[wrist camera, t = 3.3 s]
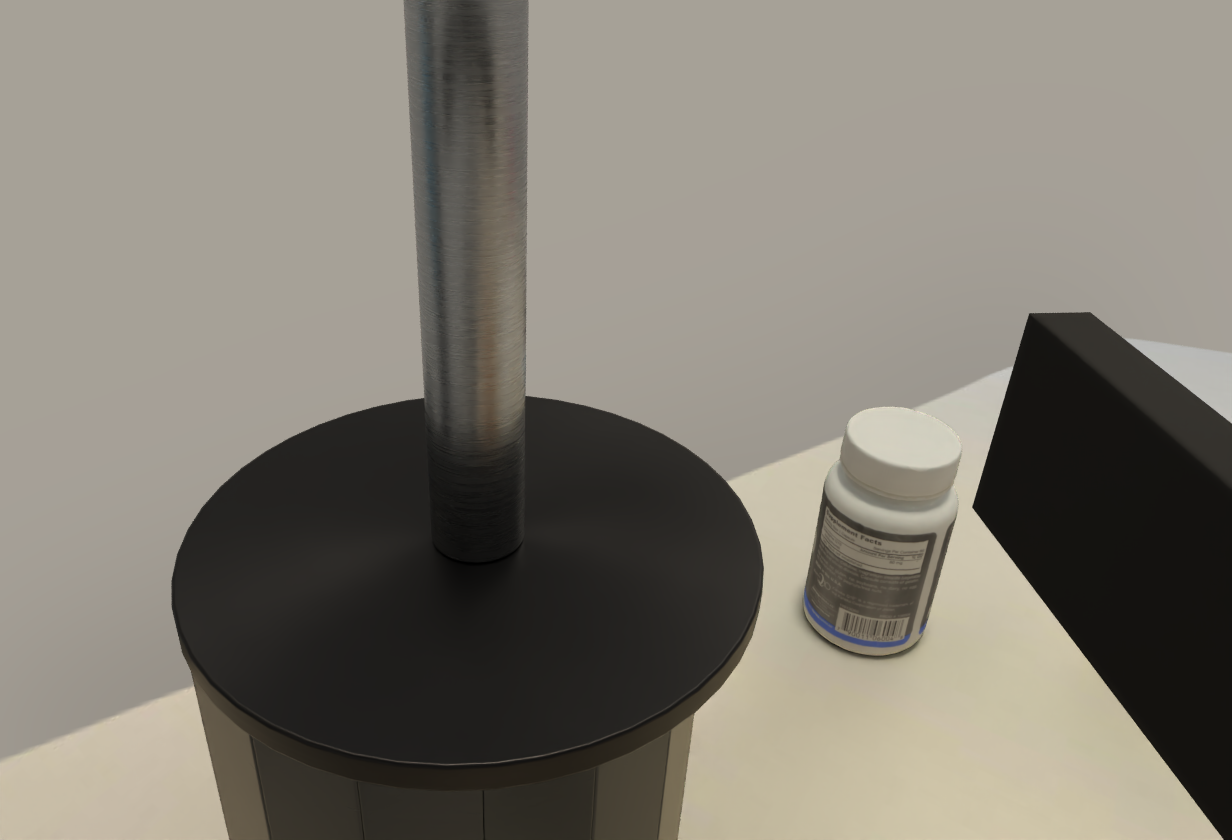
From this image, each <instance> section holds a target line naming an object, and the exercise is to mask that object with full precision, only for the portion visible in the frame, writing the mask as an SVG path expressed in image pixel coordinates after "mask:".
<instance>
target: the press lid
mask: <svg viewBox="0 0 1232 840" xmlns="http://www.w3.org/2000/svg"><path fill="white" fill-rule="evenodd" d="M404 17H405V34H406V35H405V36H406V55H407V73H408V93H409V113H410V131H411V151H412V170H413V190H414V208H415V227H416V247H417V265H418V285H419V305H420V323H421V343H422V362H423V380H424V398H421V399H415V400H406V401H401V402H396V403H392V404H387V405H381V406H377V407H373V408H369V409H366V410H362V411H358V412H355V413H351V414H347V415H345V416H342V417H339V418H337V419H334V420H331V421H328V422H325V423H322V424H319V425H317V426H315V427H313V428H310V429H308V430H306V431H304V432H301V433H299V434H297V435H295V436H293V437H291V438H289V439H287V440H285V441H283V442H282V443H280V444H278V445H277V446H275V447H273V448H271V449H269V450H267V451H266V452H264V453H263V454H261V455H260V456H258V457H257V458H255V459H254V460H253V461H251V462H250V463H248V464H247V465H245V466H244V467H243V468H241V469H240V470H239V471H238V472H237V473H235V474H234V475H233V476H232V477H231V478H230V479H229V480H228V481H226V482H225V483H224V484H223V485H222V486H221V487H220V488H219V489H218V490H217V491H216V492H215V493H214V495H213V496H212V497H211V498H210V499H209V500H208V502H206V504H205V505H204V506H203V507H202V508H201V510H200V512H199V513H198V515H197V516H196V518H195V519H194V521H193V522H192V524H191V526H190V527H189V529H188V530H187V533H186V535H185V537H184V540H183V542H182V545H181V547H180V549H179V551H178V554H177V558H176V562H175V567H174V572H173V577H172V610H173V615H174V619H175V623H176V628H177V632H178V636H179V640H180V645H181V649H182V653H183V655H184V657H185V659H186V661H187V664H188V666H189V668H190V670H191V672H192V674H193V676H194V678H195V680H196V681H197V683H198V684H199V685H200V687H201V688H202V689H203V690H204V692H205V693H206V694H207V696H208V697H209V698H210V700H211V701H212V702H213V704H214V705H215V706H216V707H217V708H218V709H220V710H221V711H222V712H223V713H224V714H225V715H226V716H227V717H228V718H230V719H231V720H232V721H233V722H234V723H235V724H236V725H237V726H238V727H239V728H241V729H242V730H243V731H245V732H246V733H248V734H249V735H251V736H252V737H254V738H256V739H257V740H259V741H260V742H262V743H263V744H265V745H266V746H268V747H270V748H271V749H273V750H274V751H276V752H279V753H281V754H283V755H285V756H287V757H290V758H292V759H294V760H296V761H298V762H301V763H303V764H305V765H307V766H309V767H312V768H315V769H318V770H321V771H325V772H328V773H331V774H335V775H338V776H341V777H344V778H348V779H351V780H354V781H360V782H366V783H371V784H377V785H383V786H388V787H394V788H399V789H414V790H430V791H446V792H451V791H473V790H494V789H502V788H509V787H515V786H522V785H528V784H535V783H541V782H546V781H550V780H553V779H557V778H561V777H564V776H568V775H572V774H576V773H579V772H583V771H587V770H590V769H592V768H595V767H597V766H600V765H602V764H605V763H608V762H610V761H613V760H615V759H618V758H620V757H623V756H625V755H628V754H630V753H632V752H634V751H635V750H637V749H639V748H641V747H643V746H645V745H646V744H648V743H650V742H652V741H654V740H656V739H658V738H659V737H661V736H663V735H665V734H666V733H668V732H669V731H670V730H672V729H673V728H675V727H676V726H677V725H679V724H680V723H681V722H683V721H684V720H685V719H687V718H688V717H690V716H691V715H692V714H694V713H695V712H696V711H697V710H698V709H699V708H700V707H701V706H702V705H703V704H704V703H705V702H706V701H707V700H708V699H709V698H710V697H711V696H712V695H713V694H715V693H716V692H717V691H718V690H719V689H720V688H721V686H722V685H723V684H724V682H725V681H726V680H727V678H728V677H729V675H730V674H731V673H732V671H733V670H734V669H735V667H736V666H737V665H738V663H739V662H740V660H741V658H742V656H743V654H744V652H745V650H746V648H747V646H748V644H749V642H750V640H751V638H752V635H753V631H754V628H755V624H756V620H757V617H758V613H759V609H760V603H761V597H762V588H763V571H764V566H763V559H762V552H761V545H760V542H759V539H758V536H757V533H756V530H755V527H754V525H753V522H752V519H751V518H750V516H749V514H748V512H747V510H746V509H745V507H744V505H743V503H742V502H741V500H740V498H739V497H738V496H737V495H736V493H735V492H734V491H733V490H732V488H731V487H730V486H729V485H728V483H727V482H726V481H725V480H724V479H723V478H722V477H721V476H720V475H719V474H718V473H716V471H715V470H714V469H713V468H711V466H709V465H708V464H707V463H706V462H705V461H703V460H702V459H701V458H699V457H698V456H697V455H695V454H694V453H693V452H691V451H690V450H689V449H687V448H686V447H684V446H682V445H681V444H679V443H677V442H676V441H674V440H672V439H670V438H669V437H667V436H665V435H664V434H662V433H659V432H657V431H655V430H653V429H651V428H648V427H647V426H644V425H642V424H640V423H638V422H635V421H632V420H629V419H627V418H624V417H621V416H618V415H616V414H613V413H610V412H606V411H602V410H599V409H595V408H591V407H588V406H584V405H579V404H574V403H569V402H564V401H559V400H553V399H546V398H537V397H530V396H525V376H526V372H525V370H526V248H527V247H526V245H527V240H526V239H527V238H526V237H527V120H528V119H527V117H528V115H527V111H528V0H404Z"/></svg>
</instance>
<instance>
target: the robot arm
mask: <svg viewBox="0 0 1232 840" xmlns="http://www.w3.org/2000/svg"><path fill="white" fill-rule="evenodd" d="M972 508H973V509H974V510H975V512H976V513H977V514H978V516H979V517H980V518H981V520H982V521H983V522H984V524H985V525H986V526H987V528H988V529H989V530H990V531H991V533H992V534H993V535H994V537H995V538H996V539H997V541H998V542H999V543H1000V545H1001V546H1002V547H1003V549H1004V550H1005V551H1006V553H1007V554H1008V555H1009V557H1010V558H1011V559H1012V561H1013V562H1014V563H1015V564H1016V566H1017V567H1018V568H1019V570H1020V571H1021V572H1022V574H1023V575H1024V576H1025V578H1026V579H1027V580H1028V582H1029V583H1030V584H1031V586H1032V587H1033V588H1034V590H1035V591H1036V592H1037V594H1038V595H1039V596H1040V598H1041V599H1042V600H1043V601H1044V603H1045V604H1046V605H1047V607H1048V608H1049V609H1050V611H1051V612H1052V613H1053V615H1054V616H1055V617H1056V619H1057V620H1058V621H1059V623H1060V624H1061V625H1062V627H1063V628H1064V629H1065V631H1066V632H1067V633H1068V634H1069V636H1070V637H1071V638H1072V640H1073V641H1074V642H1075V644H1076V645H1077V646H1078V648H1079V649H1080V650H1081V652H1082V653H1083V654H1084V656H1085V657H1086V658H1087V660H1088V661H1089V662H1090V664H1091V665H1092V666H1093V668H1094V669H1095V670H1096V671H1097V673H1098V674H1099V675H1100V677H1101V678H1102V679H1103V681H1104V682H1105V683H1106V685H1107V686H1108V687H1109V689H1110V690H1111V691H1112V693H1113V694H1114V695H1115V697H1116V698H1117V699H1118V701H1119V702H1120V703H1121V704H1122V706H1123V707H1124V708H1125V710H1126V711H1127V712H1128V714H1129V715H1130V716H1131V718H1132V719H1133V720H1134V722H1135V723H1136V724H1137V726H1138V727H1139V728H1140V730H1141V731H1142V732H1143V734H1144V735H1145V736H1146V738H1147V739H1148V740H1149V741H1150V743H1151V744H1152V745H1153V747H1154V748H1155V749H1156V751H1157V752H1158V753H1159V755H1160V756H1161V757H1162V759H1163V760H1164V761H1165V763H1166V764H1167V765H1168V767H1169V768H1170V769H1171V771H1172V772H1173V773H1174V774H1175V776H1176V777H1177V778H1178V780H1179V781H1180V782H1181V784H1182V785H1183V786H1184V788H1185V789H1186V790H1187V792H1188V793H1189V794H1190V796H1191V797H1192V798H1193V800H1194V801H1195V802H1196V804H1197V805H1198V806H1199V807H1200V809H1201V810H1202V811H1203V813H1204V814H1205V815H1206V817H1207V818H1208V819H1209V821H1210V822H1211V823H1212V825H1213V826H1214V827H1215V829H1216V830H1217V831H1218V833H1219V834H1220V835H1221V837H1222V838H1223V839H1224V840H1232V424H1231V423H1230V422H1229V421H1228V420H1226V419H1225V418H1224V417H1223V416H1221V415H1220V414H1219V413H1217V412H1216V411H1215V410H1214V409H1212V408H1211V407H1210V406H1209V405H1207V404H1206V403H1205V402H1204V401H1202V400H1201V399H1200V398H1198V397H1197V396H1196V395H1195V394H1193V393H1192V392H1191V391H1190V390H1188V389H1187V388H1186V387H1184V386H1183V385H1182V384H1181V383H1179V382H1178V381H1177V380H1176V379H1174V378H1173V377H1172V376H1170V375H1169V374H1168V373H1167V372H1165V371H1164V370H1163V369H1162V368H1160V367H1159V366H1158V365H1156V364H1155V363H1154V362H1153V361H1151V360H1150V359H1149V358H1148V357H1146V356H1145V355H1144V354H1142V353H1141V352H1140V351H1139V350H1137V349H1136V348H1135V347H1134V346H1132V345H1131V344H1130V343H1128V342H1127V341H1126V340H1125V339H1123V338H1122V337H1121V336H1120V335H1118V334H1117V333H1116V332H1114V331H1113V330H1112V329H1111V328H1109V327H1108V326H1107V325H1105V324H1104V323H1103V322H1102V321H1100V320H1099V319H1098V318H1097V317H1095V316H1094V315H1093V314H1092V313H1090V312H1084V313H1035V314H1034V313H1030V314H1029V316H1028V320H1027V323H1026V326H1025V330H1024V333H1023V337H1022V340H1021V344H1020V347H1019V350H1018V354H1017V357H1016V361H1015V364H1014V367H1013V371H1012V374H1011V377H1010V381H1009V384H1008V388H1007V391H1006V394H1005V398H1004V401H1003V405H1002V408H1001V411H1000V415H999V418H998V422H997V425H996V428H995V432H994V435H993V439H992V442H991V446H990V449H989V452H988V456H987V459H986V463H985V466H984V469H983V473H982V476H981V480H980V483H979V486H978V490H977V493H976V497H975V500H974V503H973V507H972Z"/></svg>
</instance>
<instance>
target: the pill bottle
mask: <svg viewBox="0 0 1232 840" xmlns="http://www.w3.org/2000/svg"><path fill="white" fill-rule="evenodd" d="M961 454H962V444H961V441H960V439H959V437H958V435H957V434H956V433H955V432H954V431H953V430H952V429H951V428H950V427H949V426H948V425H946V424H945V423H943V422H942V421H940V420H938V419H937V418H934V417H933V416H930V415H928V414H925V413H922V412H919V411H915V410H911V409H907V408H900V407H876V408H870V409H866V410H863V411H861V412H859V413H857V414H855V415H854V416H853V417H852V418H851V419H850V420H849V422H848V424H847V427H846V430H845V435H844V439H843V443H842V446H841V455H840V459H839V460H838V461H837V462H836V463H835V464H834V465H833V466H832V467H831V468H830V470H829V472H828V474H827V477H826V479H825V482H824V488H823V494H822V502H821V505H820V512H819V517H818V523H817V527H816V532H815V538H814V544H813V549H812V554H811V560H810V566H809V570H808V576H807V580H806V585H805V591H804V597H803V606H804V611H805V615H806V617H807V619H808V621H809V622H810V623H811V625H812V626H813V627H814V628H815V629H816V630H817V631H818V632H819V633H820V634H821V635H822V636H823V637H825V638H826V639H827V640H829V641H831V642H832V643H834V644H836V645H838V646H840V647H841V648H843V649H846V650H849V651H852V652H856V653H860V654H865V655H875V656H877V655H888V654H893V653H897V652H900V651H903V650H905V649H907V648H909V647H911V646H912V645H913V644H915V643H916V642H917V641H918V640H919V639H920V637H921V636H922V634H923V632H924V629H925V626H926V623H927V620H928V617H929V614H930V609H931V606H932V602H933V598H934V594H935V591H936V588H937V584H938V580H939V577H940V573H941V569H942V566H943V562H944V559H945V555H946V552H947V548H948V544H949V540H950V537H951V534H952V530H953V527H954V523H955V520H956V516H957V512H958V496H957V492H956V489H955V487H954V485H953V484H954V479H955V477H956V474H957V470H958V466H959V462H960V458H961Z"/></svg>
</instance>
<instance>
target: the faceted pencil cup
mask: <svg viewBox="0 0 1232 840" xmlns="http://www.w3.org/2000/svg"><path fill="white" fill-rule="evenodd" d="M191 673H192V672H191ZM192 678H193V682H194V687H195V691H196V695H197V700H198V704H199V708H200V713H201V717H202V722H203V726H204V730H205V735H206V739H207V744H208V748H209V752H210V757H211V761H212V766H213V770H214V774H215V779H216V783H217V788H218V792H219V796H220V801H221V805H222V809H223V814H224V818H225V823H226V827H227V831H228V836H229V840H678V832H679V825H680V817H681V810H682V802H683V794H684V787H685V779H686V772H687V764H688V757H689V749H690V742H691V734H692V727H693V719H694V714H692V715H691V716H690V717H688V718H687V719H685V720H684V721H683V722H681V723H680V724H679V725H677V726H676V727H675V728H673V729H672V730H670V731H669V732H668V733H666V734H665V735H663V736H661V737H659V738H658V739H656V740H654V741H652V742H650V743H648V744H646V745H645V746H643V747H641V748H639V749H637V750H635V751H634V752H632V753H630V754H628V755H625V756H623V757H620V758H618V759H615V760H613V761H610V762H608V763H605V764H602V765H600V766H597V767H595V768H592V769H590V770H587V771H583V772H579V773H576V774H572V775H568V776H564V777H561V778H557V779H553V780H550V781H546V782H541V783H535V784H528V785H522V786H515V787H509V788H502V789H494V790H473V791H451V792H446V791H430V790H414V789H399V788H394V787H388V786H383V785H377V784H371V783H366V782H360V781H354V780H351V779H348V778H344V777H341V776H338V775H335V774H331V773H328V772H325V771H321V770H318V769H315V768H312V767H309V766H307V765H305V764H303V763H301V762H298V761H296V760H294V759H292V758H290V757H287V756H285V755H283V754H281V753H279V752H276V751H274V750H273V749H271V748H270V747H268V746H266V745H265V744H263V743H262V742H260V741H259V740H257V739H256V738H254V737H252V736H251V735H249V734H248V733H246V732H245V731H243V730H242V729H241V728H239V727H238V726H237V725H236V724H235V723H234V722H233V721H232V720H231V719H230V718H228V717H227V716H226V715H225V714H224V713H223V712H222V711H221V710H220V709H218V708H217V707H216V706H215V705H214V704H213V702H212V701H211V700H210V698H209V697H208V696H207V694H206V693H205V692H204V690H203V689H202V688H201V687H200V685H199V684H198V683H197V681H196V680H195V678H194V676H193V674H192Z"/></svg>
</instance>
